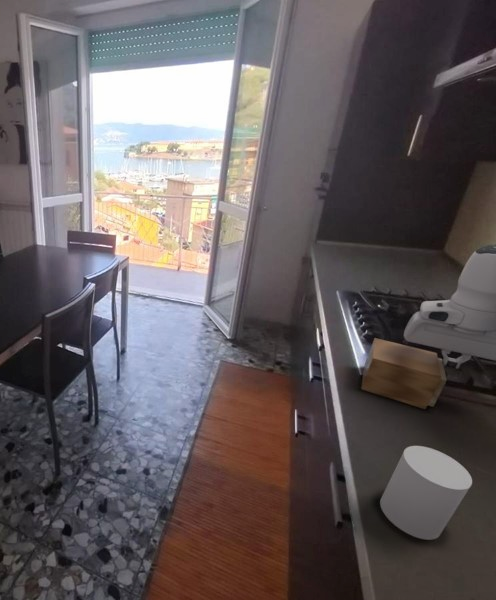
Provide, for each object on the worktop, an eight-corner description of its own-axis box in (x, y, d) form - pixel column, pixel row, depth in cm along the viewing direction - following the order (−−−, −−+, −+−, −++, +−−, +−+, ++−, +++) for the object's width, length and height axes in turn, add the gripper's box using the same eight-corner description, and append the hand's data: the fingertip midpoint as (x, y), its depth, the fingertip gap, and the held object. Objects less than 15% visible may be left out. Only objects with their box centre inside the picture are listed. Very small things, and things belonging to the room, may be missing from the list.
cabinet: (422, 384, 92) (436, 353, 88) (425, 409, 84) (441, 376, 80) (363, 367, 99) (374, 337, 95) (361, 389, 91) (372, 357, 87)
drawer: (436, 385, 90) (448, 360, 87) (440, 409, 83) (454, 382, 79) (374, 368, 97) (384, 344, 94) (373, 388, 90) (383, 363, 86)
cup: (454, 539, 57) (488, 489, 52) (403, 539, 58) (432, 489, 52) (414, 493, 65) (440, 445, 60) (369, 493, 65) (391, 445, 60)
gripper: (537, 321, 77) (509, 373, 82) (414, 300, 88) (396, 347, 94) (546, 333, 72) (515, 388, 78) (415, 310, 84) (397, 359, 89)
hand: (449, 365), depth 86 cm, fingers closed
